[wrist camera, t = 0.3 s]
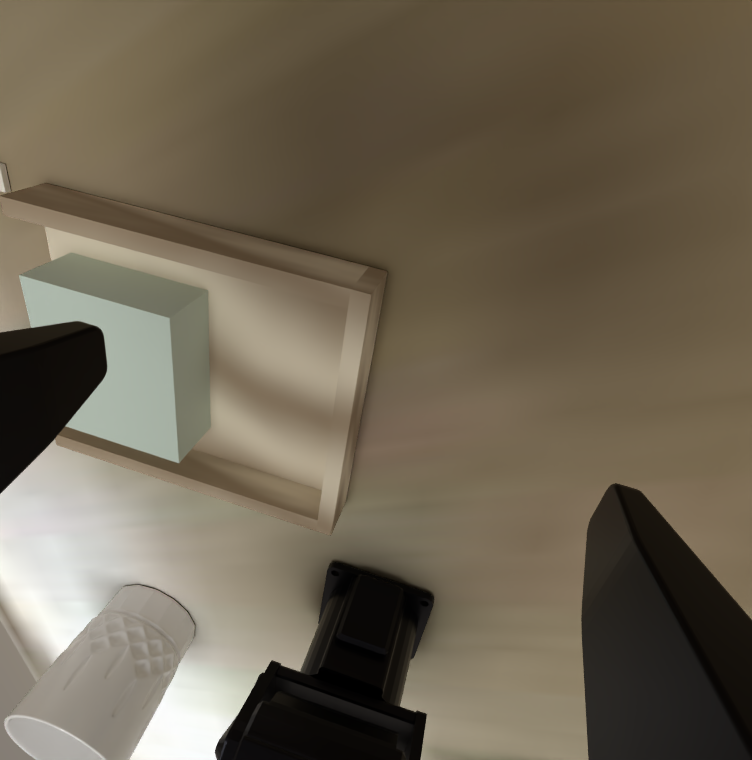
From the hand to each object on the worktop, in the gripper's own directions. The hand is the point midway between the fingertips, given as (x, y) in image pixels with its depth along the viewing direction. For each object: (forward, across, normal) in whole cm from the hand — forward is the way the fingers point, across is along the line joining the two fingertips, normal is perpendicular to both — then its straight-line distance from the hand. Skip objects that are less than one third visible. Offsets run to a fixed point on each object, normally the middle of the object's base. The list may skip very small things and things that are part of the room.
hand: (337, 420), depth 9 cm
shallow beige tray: (+14, +10, +9) cm, 19 cm away
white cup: (+14, +15, +34) cm, 40 cm away
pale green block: (+13, +13, +9) cm, 21 cm away
